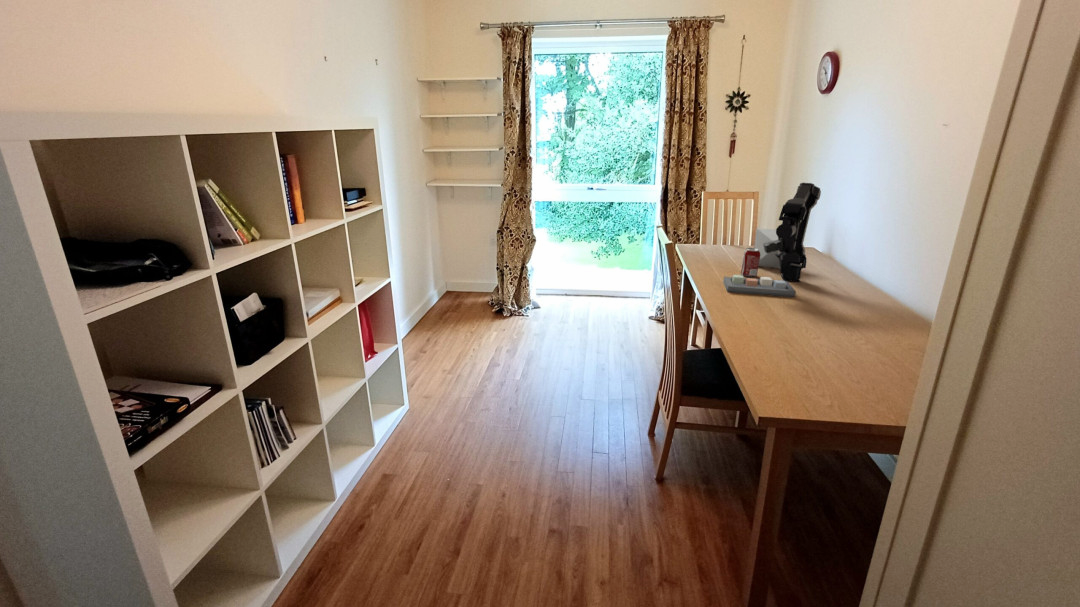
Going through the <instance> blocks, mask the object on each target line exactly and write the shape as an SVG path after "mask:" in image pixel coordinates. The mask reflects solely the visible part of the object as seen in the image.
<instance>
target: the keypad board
mask: <svg viewBox="0 0 1080 607" xmlns="http://www.w3.org/2000/svg"><path fill="white" fill-rule="evenodd" d="M732 277H733V276H723V282H722V283H723V285H724V287H725V289H726V292H727V293H734V294H735V293H736V294H747V295H756V294H759V296H769V295H773V296H772V297H781V296H783V297H785V298H795V297H796V293H797V291H796V290H795V289H794V288H793V286H792V285H791V283H790V282H789V281H785V282H786V283H787V284H786V289H780V288H774V286H773V285H774V280H775V279H772V280H773V281H772V286H762V285H761V284H760V278H756V279H757V281H758V283H757V287H754V286H746V284H745V283H746V278H747V277H744V282H743V284H736V283H733V282H732Z"/></svg>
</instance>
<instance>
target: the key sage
mask: <svg viewBox="0 0 1080 607" xmlns="http://www.w3.org/2000/svg"><path fill="white" fill-rule="evenodd" d="M731 277H732V282H733V283H736V284H743V282H744V278H745V276H743V275H742V274H732V276H731Z"/></svg>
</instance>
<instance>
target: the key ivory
mask: <svg viewBox="0 0 1080 607" xmlns="http://www.w3.org/2000/svg"><path fill="white" fill-rule="evenodd" d="M759 279H760V284H761V285H762V286H772V281H773V280H774V279H772V277H770V276H760V277H759Z"/></svg>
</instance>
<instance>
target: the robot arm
mask: <svg viewBox="0 0 1080 607" xmlns="http://www.w3.org/2000/svg"><path fill="white" fill-rule="evenodd" d="M821 191H822V190H821V188H820V187H818V186H816V185H815V184H814V183H812V182H800V183H799V185H798V186H797V189H796V192H795V194H794V196H793V198H790V199H788V200H787V201H786V202H785V203H784V204H783V205H782V208H781V211H780V215H779V217H778V221H780V222H781V221H782V222H781V223H780V225H778V226H777V228H776V229H775V230H776V235H777V236H778V240H775V241H770V242H766V243H764V244H763V246H764V250H765V252H766V253H770V252H775V251H778V254H775V255H776V256H777V258H778V259H779V265H780V268H779V273H780V274H781V276H780V277H781V279H782V281H787V282H797V283H801V274H802V269H806V268H807V262H808V260H807V259H808V258H807V255H806V248H805V246H804V241H805V237H806V236H805V235H806V232H807V227H808V223H809V219H810V215H811V211H812V210H813V208H814V207H815V206H816V205H817V204H818V200H820V198H821V194H822V192H821Z"/></svg>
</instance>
